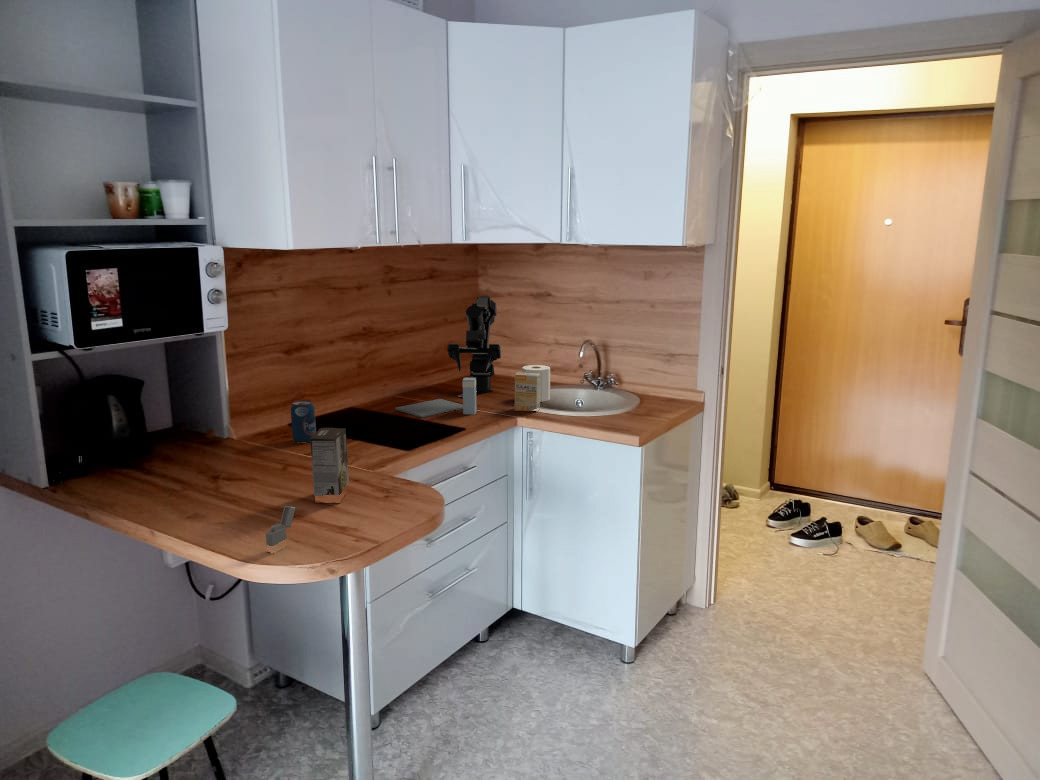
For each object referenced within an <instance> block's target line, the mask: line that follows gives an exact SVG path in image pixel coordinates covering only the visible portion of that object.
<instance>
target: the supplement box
mask: <svg viewBox="0 0 1040 780" xmlns="http://www.w3.org/2000/svg"><path fill="white" fill-rule="evenodd" d="M540 375H541V374H535V373H522V371H521V372H520V371H519V372H516V373H515V374H514V411H519V412H520V411H521V412H527V411H526V410H534V409H537V408H539V407H540V408H541V406H540V405H541V402H540Z"/></svg>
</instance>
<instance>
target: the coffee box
mask: <svg viewBox="0 0 1040 780" xmlns="http://www.w3.org/2000/svg"><path fill="white" fill-rule="evenodd" d="M346 431H347V429H346V428H341V427H340V428H338V427H320V428H319V429H318V430H316V433H315V434H314V435H313V436H312V437H311V438H310V441H311V443H310V451H311V452H310V453H311V468H312V469H311V471H312V484H313V497H314V496H323V495H340V494H341V493H342V491H343V490H344V488H345V487H346V486H347V484H348V482H349V483H350V481H349V480H350V479H349V478H350V477H349V461H348V446H347V445H348V444H347V432H346Z"/></svg>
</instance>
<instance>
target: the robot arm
mask: <svg viewBox="0 0 1040 780" xmlns="http://www.w3.org/2000/svg"><path fill="white" fill-rule="evenodd" d="M497 308H498V307H497V304H496V302H495V301H494V300H492V299H491V296H490V295H478V296H477V298H476V302H473V303H471V305H470V306H469V307H468V306H467V308H466V310H465V318H466V321H467V324H468V330H466V331H465V346H466V347H465V346H462V347H461V346H460V343H448V345H447V353H448V357H449V358H450V359H452V360H453V361H455V362H456V364H457V368H458V371H459V372H461V368H462V367H461V366H462V361H461V360H462V359H461V358H462V357H461V354H472V355H471V360H470V361H469V374H470V377H469V378H476V391H477V392H478V393H479V394H484V393H491V392H494V389H492V388H491V387H492V386H491V385H492V384H491V378H492V377H495V365H494V364H493V362H495V361H497V360H499V359H501V358H502V350H501V345H500V344H499V343H489V342H490V331H491V326H492V325H493V324H494V323H495V322H496V320H495V319H496V317H497V316H498V315H497V314H498V309H497ZM477 392H476V393H477ZM478 393H477V394H478Z"/></svg>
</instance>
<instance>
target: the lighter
mask: <svg viewBox="0 0 1040 780" xmlns="http://www.w3.org/2000/svg"><path fill="white" fill-rule="evenodd" d="M295 512H296V507H295V506H292V505H291V506H290V505H284V508H283V511H282V516H281V519H280V523H274V524H273V525H270V529H269V530H268V531H265V542H266V546H267V545H269V546H274V545H276V544H278V543H279V542H281V541H283V540H285V539H287V528H291V527H292V523H293V519H294V515H295ZM287 540H288V539H287Z"/></svg>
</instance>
